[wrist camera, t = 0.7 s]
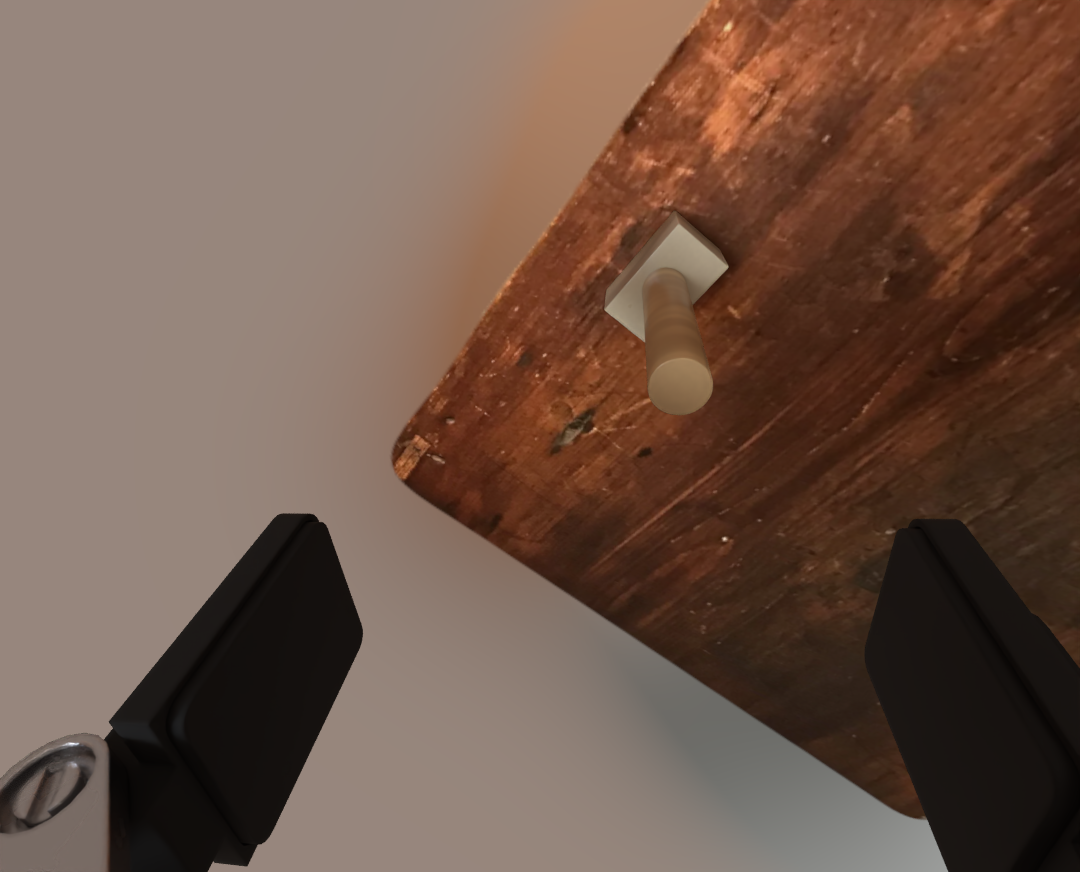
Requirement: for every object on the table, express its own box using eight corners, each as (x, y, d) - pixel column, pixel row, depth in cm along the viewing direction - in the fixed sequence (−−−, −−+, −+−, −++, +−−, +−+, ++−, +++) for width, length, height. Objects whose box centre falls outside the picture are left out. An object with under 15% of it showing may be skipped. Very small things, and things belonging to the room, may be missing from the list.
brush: (674, 209, 28) (703, 297, 17) (720, 250, 28) (777, 359, 18) (606, 290, 30) (591, 413, 19) (649, 325, 31) (660, 464, 20)
